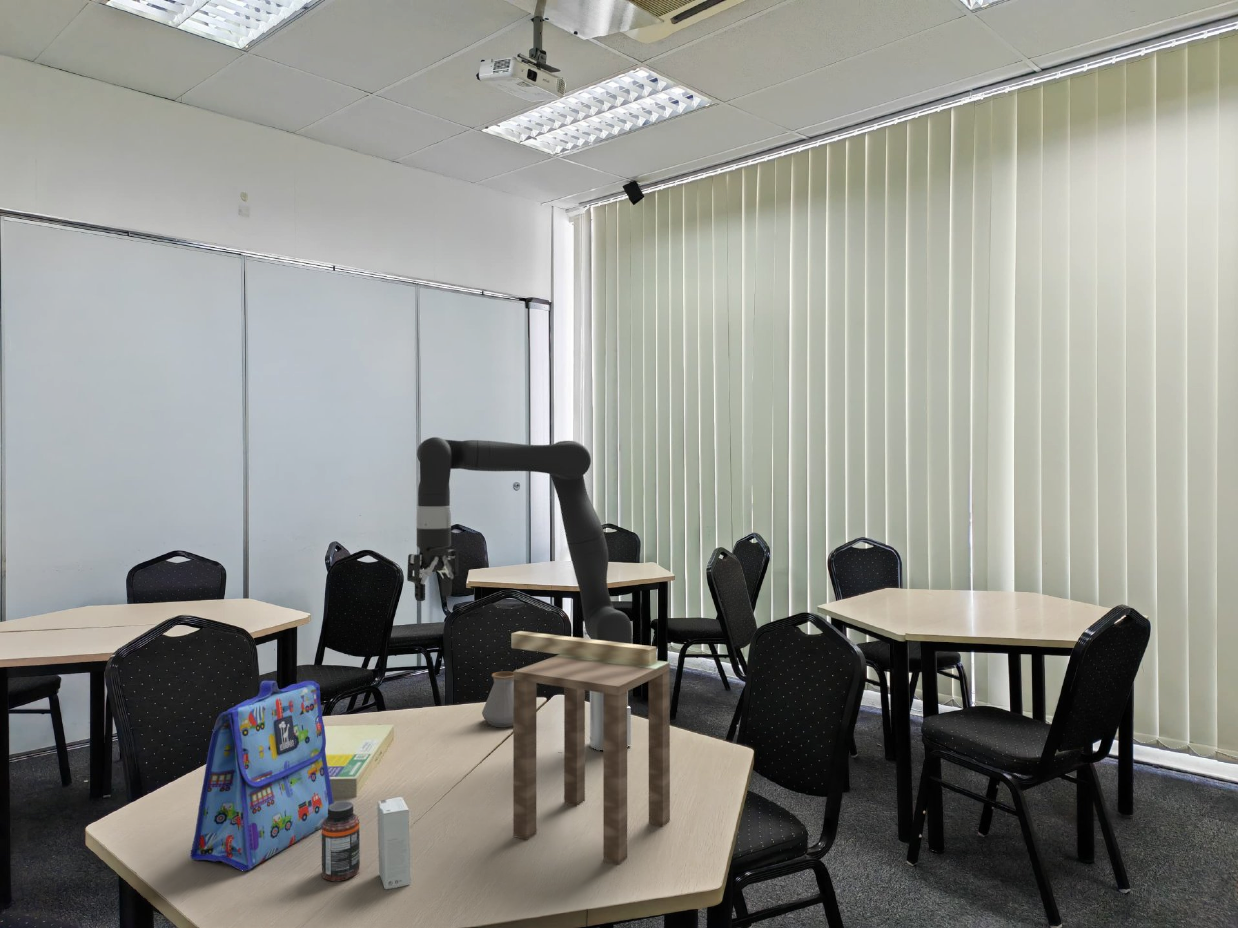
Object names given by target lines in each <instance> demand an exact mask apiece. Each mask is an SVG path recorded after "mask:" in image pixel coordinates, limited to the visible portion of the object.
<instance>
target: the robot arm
mask: <svg viewBox="0 0 1238 928" xmlns="http://www.w3.org/2000/svg"><path fill="white" fill-rule="evenodd" d="M416 457H417V459H418V461H419V484H418V488H417V513H416V547H417V548H419V552H418V554H416V553H415V554H414V553H409V554H408V556H407V557H408V558H407V574H406V576H407V577H406V580H407V582H411V583H413V585H414V598H415V601H417V602H425V601H426V584H425V583H426V581H427V579H428V577H429V576H431V575H432V573H434V572H438V573H439V575H440V576H441V577H442V579H441V596H442V597H451V596H452V593H453V588H452V587H453V579H454V577H457V576H459V574H460V572H459V571H460V569H459V550H458V549H449V547H451V546H452V516H451V515H452V514H451V506H450V505H451V503H450V502H451V501H450V499H451V498H450V497H451V495H450V494H451V492H450V491H451V490H450V480H451V479H450V478H451V470H457V469H458V470H459V469H460V470H466V471H477V472H530V473H531V472H533V473H542V474H548V475H550V478H551V480H552V484H553V487H554V489H555V493H556V495H557V499H558V502H559V508H560V513H561V519H562V524H563V528H564V532H565V538H566V544H567V547H568V552H569V556H570V559H571V563H572V567H573V570H574V575H575V578H576V579H575V580H576V583H577V586H578V589H579V593H580V601H581V607H582V614H583V621H584V628H585V631H586V634H587V636H588V637H589V639H594V640H602V641H611V642H619V643H628V644H633V643H632V637H633V636H632V635H633V634H632V633H633V631H632V623H631V621H630V620H631V619H630V618H629V617H628V615H627V614H626V613H625V612H623V611H621V610H618V609H615V608H614V605H613V603H612V599H611V595H610V593H609V589H608V580H607V579H608V568H609V549H608V544H607V541H606V540H607V539H606V537H605V532H604V528H603V526H602V523H601V520H600V517H599V516H598V514H597V512H596V510H595V508H594V505H593V503H592V502H591V500H590V497H589V494H588V491H587V488H586V481H585V477H584V475H586V473H587V472H588V471H589V469H590V466H591V463H592V462H591V461H592V459H591V454H590V452H589V450H588V448H586V446H585V445H583V444H582V443H580V442H577V441H576V440H575V441H574V440H562V441H557V442H555V443H553V444H521V443H512V442H505V441H494V440H480V439H469V440H468V439H467V440H455V439H454V440H453V439H443V438H442V437H437V436H436V437H435V436H434V437H429V438H426V439H425V440H423V441H422V442H421V443H420V444H419V445H418V447H417V450H416ZM628 692H629V691H627V746H628V745H632V744H631V743H632V742H631V741H632V737H631V736H632V734H631V732H632V728H631V727H632V726H631V725H632V721H631V719H632V718H631V717H632V716H631V715H632V712H631V711H632V710H631V709H632V708H631V706H630V705H629V703H628V702H629V699H628V698H629V693H628ZM589 746H590V748H592V749H593V748H594V749H593V750H595V749H596V751H600V750H603V693H600V692H593V691H589Z"/></svg>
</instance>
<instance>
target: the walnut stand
mask: <svg viewBox="0 0 1238 928" xmlns="http://www.w3.org/2000/svg"><path fill="white" fill-rule="evenodd" d="M656 662H657V663H654V664H652V665H650V666H647V665H639V664H631V663H624V662H616V661H608V660H600V659H593V658H585V657H577V656H569V655H562V654H557V655H555V656H553V657H549V658H547V659H544V660H541V661H537V662H536V663H535V662H534V663H533V664H529V665H526V666H524V667H521V668H519V669H515V670H513V672H514V705H513V726H512V727H513V738H512V739H513V744H512V745H513V746H512V747H513V748H512V750H513V755H512V756H513V762H512V765H513V768H512V769H513V770H512V771H513V775H512V777H513V779H512V781H513V786H512V787H513V792H512V793H513V801H512V802H513V805H512V806H513V807H512V808H513V811H512V812H513V815H512V817H513V818H512V820H513V823H512V824H513V825H512V827H513V833H512V834H513V836H512V837H514V838H518V839H522V840H525V841H528V840H529V839H530V838H532V837H534V836H536V835H537V695H538V694H537V693H538V692H537V691H538V690H537V684H542V685H547V686H555V687H562V688H563V689H564V690H563V692H564V693H563V694H564V695H563V696H564V699H563V701H564V707H563V710H564V712H563V714H564V715H563V717H564V720H563V726H564V728H563V729H564V730H563V731H564V734H563V740H564V741H563V742H564V744H563V745H564V746H563V747H564V749H563V753H564V755H563V758H564V759H563V761H564V762H563V763H564V765H563V768H564V771H563V772H564V773H563V775H564V776H563V786H564V787H563V789H564V790H563V794H564V795H563V799H564V800H563V801H564V802H563V803H564V804H566V803H567V805H572V806H575V807H577V805H578V806H579V805H581V804H582V803H583V801H584V802H585V801H586V691H588V692H590V691H593V692H600V693H603V751H602V752H603V759H602V760H603V777H602V778H603V792H602V793H603V796H602V797H603V804H602V805H603V807H602V808H603V810H602V811H603V814H602V817H603V829H602V830H603V835H602V836H603V846H602V847H603V852H602V853H603V862H606V863H611V864H615V865H620V864H621V863H623V862H624V861H625V860H626V859H627V858H628V747H627V691H628V692H629V691H630V690H633V689H634V688H636V687H639V686H640V685H642V684H644V683H647V682H648V823H649V824H651V823H652V825H656V826H659V827H664V826H665V825H666V824H667V823H669V822H670V821H671V807H670V806H671V790H670V789H671V783H670V782H671V763H670V761H671V752H670V751H671V741H670V740H671V736H670V735H671V734H670V733H671V732H670V731H671V728H670V727H671V726H670V725H671V722H670V720H671V719H670V718H671V717H670V715H671V712H670V711H671V708H670V707H671V705H670V703H671V702H670V701H671V698H670V697H671V692H670V691H671V688H670V687H671V686H670V685H671V684H670V683H671V681H670V677H671V675H670V674H671V668H670V666H671V665H670V661H664V660H657V659H656ZM580 803H581V804H580ZM669 820H670V821H669Z"/></svg>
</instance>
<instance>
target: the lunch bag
mask: <svg viewBox="0 0 1238 928" xmlns="http://www.w3.org/2000/svg"><path fill="white" fill-rule="evenodd" d="M320 688H321V687H320V685H319V683H317V682H315V681H314V680H305V681H302V682H298V683H293V684H290V685H288V686H286V687H283V688H281V689H279V687H278V683H277V681H276V680H263V681H261V682H260V684H259V692H258V694H257V696H255V697H253V698H250V699H246V700H244V701H242V702H241V703H238V704H236V705H235V706H233V707H230V708H229V709H227V710H226V711H223V712H222V713H220V714H219V715H218V717H217V719H216V720H215V723H214V727H213V731H212V734H211V739H210V742H209V747H208V753H207V758H206V763H205V768H204V769H205V770H204V776H203V783H202V788H201V793H200V797H199V805H198V811H197V818H196V819H197V820H196V826H195V830H194V831H195V832H194V837H193V841H192V845H191V848H190V849H191V850H190V859H192V860H193V861H205V860H206V861H209V862H210V861H211V862H218V861H221V862H223V863H225V864H228V865H230V866H232V867H234V868H236V869H238V870H240V871H242V870H243V871H242V872H246V871H250V870H252V869H253V868H254V867H256V866H257V865H259V864H261V863H262V862H264V861H265V860H268V859H269V858H271V857H274V855H276V854H278V853H280V852H282V851H283V850H285V849H287V848H288V847H290V846H292V845H294V844H295V843H297V842H298V841H300V840H302V839H303V838H305V837H307V836H309V835H310V834H312V833H314V832H316V831H318V830H320V829H322V823H323V821H324V820H325V819H326V818H327V817H328V806H329V805H330V804H332V803H334V798H333V796H332V790H331V784H330V777H329V772H328V766H327V760H326V752H325V747H326V736H325V728H324V726H325V724H324V720H323V714H322V713H323V712H322V705H321V691H320V690H321V689H320Z"/></svg>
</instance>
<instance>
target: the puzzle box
mask: <svg viewBox="0 0 1238 928" xmlns="http://www.w3.org/2000/svg"><path fill="white" fill-rule="evenodd" d="M324 728H325V736H326V747H325V752H326V760H327V766H328V772H329V777H330V784H331V790H332V796H333V799H334V798H335V799H336V798H337V797H341V798H357V797H358V796H359V794H360V792H361V791H362V789H363V788H364V786H365V785H366V783H368V780H369V779H370V778H371V776H372V774H373V773H374V771H375V769H376V768H377V767H378V765H379V764H380V763H381V761H382V759H383V758H384V756H385V755H386V753H387V752H388V750H389V749H388V748H390V747H391V745H392V743H393V742H394V739H395V738H394V737H395V725H394V724H363V725H361V724H360V725H356V724H355V725H354V724H353V725H324ZM384 754H385V755H384ZM382 757H383V758H382ZM369 777H370V778H369Z"/></svg>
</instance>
